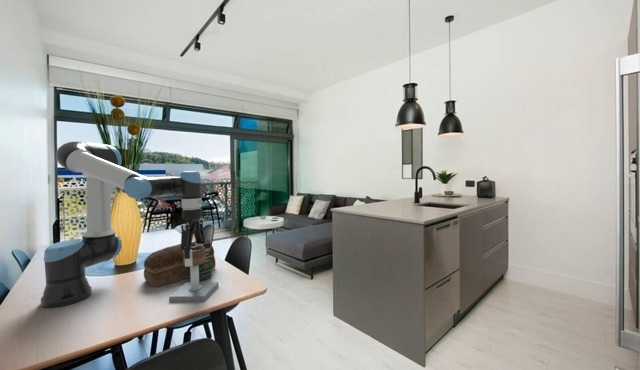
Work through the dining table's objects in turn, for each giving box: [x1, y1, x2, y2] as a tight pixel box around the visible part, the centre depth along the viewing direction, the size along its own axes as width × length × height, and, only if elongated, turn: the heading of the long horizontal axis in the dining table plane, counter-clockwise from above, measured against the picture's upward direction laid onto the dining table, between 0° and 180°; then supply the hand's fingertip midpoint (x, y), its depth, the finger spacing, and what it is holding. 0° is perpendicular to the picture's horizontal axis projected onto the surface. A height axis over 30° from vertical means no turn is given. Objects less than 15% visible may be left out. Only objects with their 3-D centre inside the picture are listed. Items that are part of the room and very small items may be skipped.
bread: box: [143, 243, 216, 288], centre depth 134 cm, size 15×32×16 cm, turn 142°
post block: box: [168, 265, 219, 303], centre depth 112 cm, size 14×14×14 cm
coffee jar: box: [189, 238, 213, 282], centre depth 128 cm, size 10×8×19 cm
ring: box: [183, 246, 206, 266], centre depth 111 cm, size 8×8×6 cm
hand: (194, 262), depth 112 cm, fingers closed on ring, 8 cm apart
